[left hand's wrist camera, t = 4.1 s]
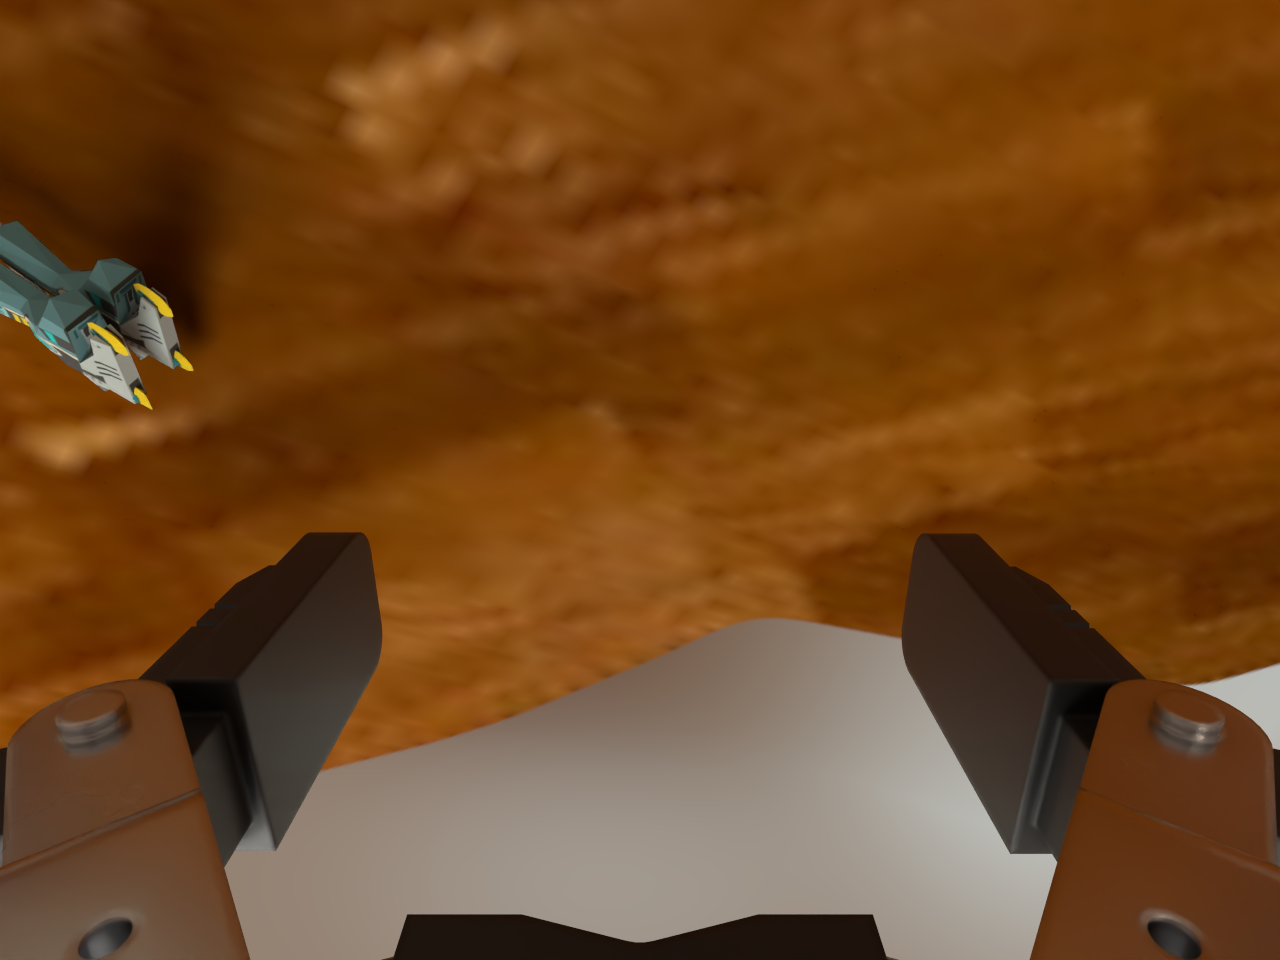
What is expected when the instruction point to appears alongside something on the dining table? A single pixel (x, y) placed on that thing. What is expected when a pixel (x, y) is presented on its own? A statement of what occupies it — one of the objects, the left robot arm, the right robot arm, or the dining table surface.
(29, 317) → the figurine
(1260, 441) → the dining table surface
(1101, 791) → the left robot arm
